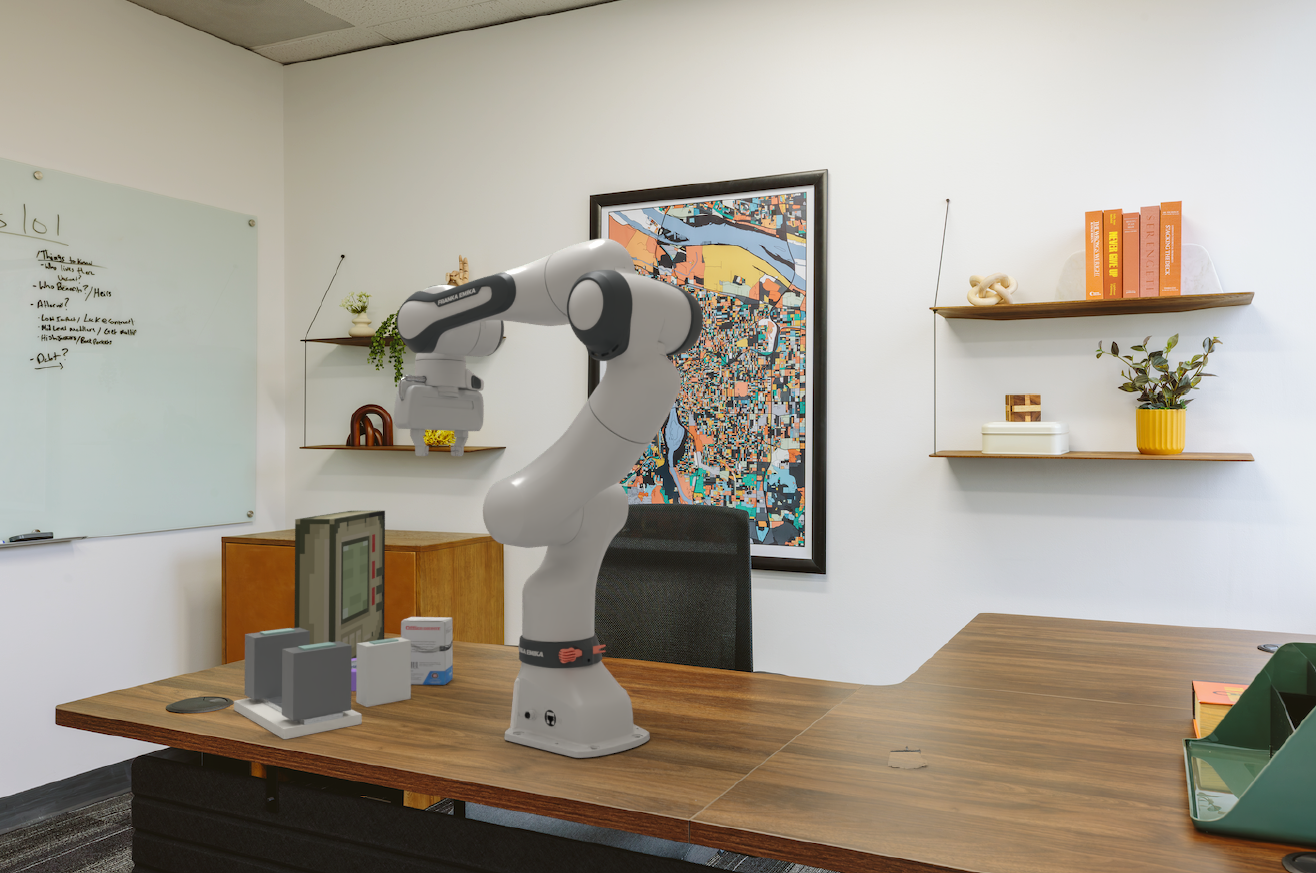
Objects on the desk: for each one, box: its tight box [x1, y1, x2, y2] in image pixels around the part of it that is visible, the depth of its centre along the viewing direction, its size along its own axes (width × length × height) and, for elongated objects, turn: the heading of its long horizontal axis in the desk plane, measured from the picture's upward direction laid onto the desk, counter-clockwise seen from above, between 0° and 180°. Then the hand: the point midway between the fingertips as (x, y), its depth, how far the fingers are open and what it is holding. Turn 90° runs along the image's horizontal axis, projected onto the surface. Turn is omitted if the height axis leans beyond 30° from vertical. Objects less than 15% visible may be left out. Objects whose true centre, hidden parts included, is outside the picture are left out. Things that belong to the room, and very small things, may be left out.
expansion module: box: [355, 636, 412, 708], centre depth 159 cm, size 4×8×10 cm, turn 132°
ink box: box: [400, 616, 454, 686], centre depth 173 cm, size 8×5×12 cm, turn 84°
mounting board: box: [233, 697, 363, 740], centre depth 149 cm, size 22×12×2 cm, turn 42°
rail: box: [257, 695, 343, 725], centre depth 149 cm, size 22×6×1 cm, turn 42°
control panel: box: [293, 510, 386, 659], centre depth 191 cm, size 30×8×30 cm, turn 178°
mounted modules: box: [244, 627, 352, 721], centre depth 149 cm, size 21×9×10 cm, turn 42°
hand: (440, 456), depth 165 cm, fingers open, 8 cm apart
